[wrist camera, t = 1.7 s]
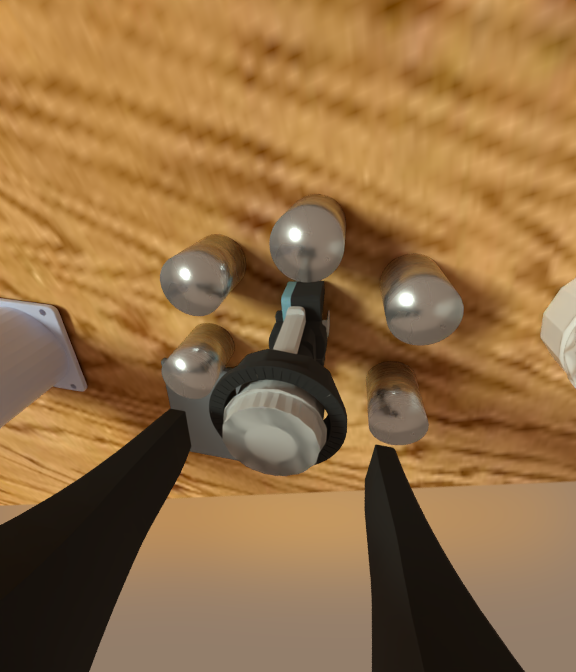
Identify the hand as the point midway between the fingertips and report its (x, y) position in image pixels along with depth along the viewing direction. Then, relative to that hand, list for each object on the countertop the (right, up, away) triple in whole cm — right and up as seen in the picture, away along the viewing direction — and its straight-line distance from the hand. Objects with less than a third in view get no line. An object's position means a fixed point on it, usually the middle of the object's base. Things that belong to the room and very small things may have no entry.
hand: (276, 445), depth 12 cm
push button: (+2, +5, +8) cm, 10 cm away
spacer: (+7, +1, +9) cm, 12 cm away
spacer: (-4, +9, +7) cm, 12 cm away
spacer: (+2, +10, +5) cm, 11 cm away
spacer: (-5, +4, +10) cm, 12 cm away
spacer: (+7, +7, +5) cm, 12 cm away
